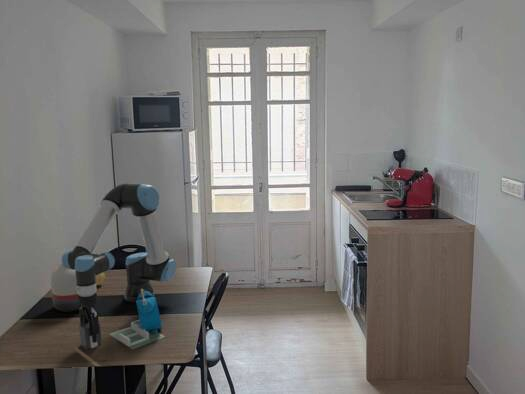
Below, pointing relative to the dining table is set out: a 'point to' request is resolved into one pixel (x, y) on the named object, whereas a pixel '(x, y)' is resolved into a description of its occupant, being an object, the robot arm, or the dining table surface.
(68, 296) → the vase
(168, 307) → the dining table surface
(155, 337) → the board
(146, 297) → the blue suitcase
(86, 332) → the plug
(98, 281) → the potato
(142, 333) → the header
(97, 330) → the robot arm
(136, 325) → the header 2pin
